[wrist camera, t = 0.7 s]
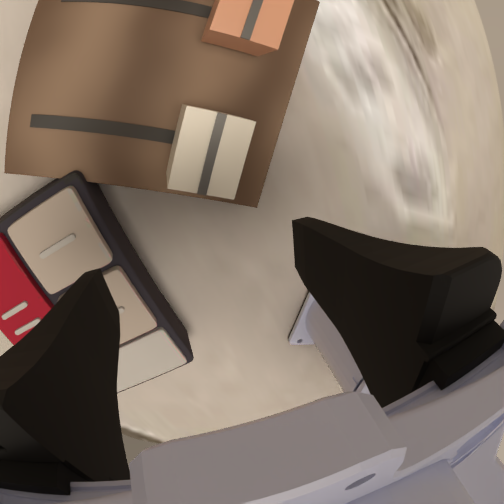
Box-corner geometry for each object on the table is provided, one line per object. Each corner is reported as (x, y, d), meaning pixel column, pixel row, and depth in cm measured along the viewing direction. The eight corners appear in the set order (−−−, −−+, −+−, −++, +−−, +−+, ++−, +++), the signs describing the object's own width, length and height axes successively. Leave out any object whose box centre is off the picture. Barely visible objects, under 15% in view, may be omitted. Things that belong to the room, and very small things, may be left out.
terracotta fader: (276, -1, 12) (300, -16, 10) (257, 56, 14) (279, 49, 11) (221, -18, 11) (235, -39, 9) (200, 41, 13) (209, 29, 10)
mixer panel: (304, 8, 15) (320, 1, 13) (247, 196, 20) (257, 208, 18) (68, -36, 9) (59, -49, 7) (17, 164, 14) (3, 173, 13)
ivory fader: (239, 116, 15) (257, 122, 12) (221, 181, 16) (234, 200, 14) (182, 104, 14) (186, 105, 11) (166, 172, 15) (167, 189, 13)
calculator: (73, 172, 13) (198, 368, 21) (87, 158, 16) (188, 329, 24) (-55, 269, 12) (80, 415, 20) (-29, 240, 15) (82, 377, 23)
